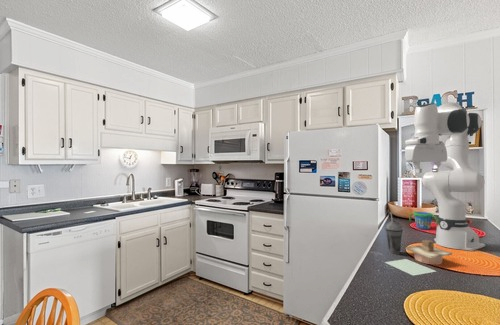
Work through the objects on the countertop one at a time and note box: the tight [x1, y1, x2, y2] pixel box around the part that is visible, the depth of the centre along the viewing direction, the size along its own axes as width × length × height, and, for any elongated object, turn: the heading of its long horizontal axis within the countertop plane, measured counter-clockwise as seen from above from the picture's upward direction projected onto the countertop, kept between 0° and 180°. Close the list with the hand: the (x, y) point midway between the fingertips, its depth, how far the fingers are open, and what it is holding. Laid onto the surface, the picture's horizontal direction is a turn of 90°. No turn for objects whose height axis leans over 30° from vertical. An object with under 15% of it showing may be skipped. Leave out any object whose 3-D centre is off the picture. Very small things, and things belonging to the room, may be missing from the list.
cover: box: [405, 239, 453, 258], centre depth 113 cm, size 12×12×5 cm
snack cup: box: [409, 211, 439, 231], centre depth 169 cm, size 16×10×10 cm
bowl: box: [413, 252, 443, 266], centre depth 113 cm, size 10×10×4 cm
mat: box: [384, 258, 438, 276], centre depth 106 cm, size 12×14×1 cm
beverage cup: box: [385, 211, 404, 255], centre depth 123 cm, size 7×7×20 cm
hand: (427, 172), depth 111 cm, fingers open, 8 cm apart
